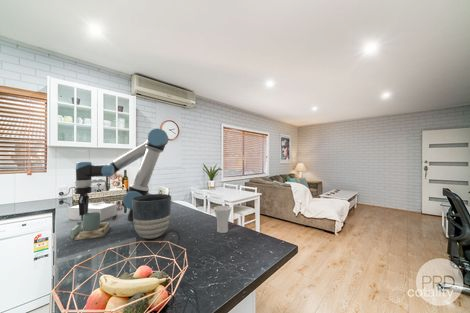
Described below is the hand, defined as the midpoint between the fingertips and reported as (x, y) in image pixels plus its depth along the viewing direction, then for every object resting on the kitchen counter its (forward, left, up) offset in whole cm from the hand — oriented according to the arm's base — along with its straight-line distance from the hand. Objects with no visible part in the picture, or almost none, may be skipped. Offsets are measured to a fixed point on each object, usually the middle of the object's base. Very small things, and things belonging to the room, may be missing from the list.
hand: (83, 225), depth 117 cm
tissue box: (+1, -25, -2) cm, 25 cm away
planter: (-39, +30, -2) cm, 49 cm away
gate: (0, +11, -2) cm, 11 cm away
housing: (-8, +12, -2) cm, 15 cm away
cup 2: (-77, +37, -2) cm, 86 cm away
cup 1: (-7, +12, -1) cm, 14 cm away
